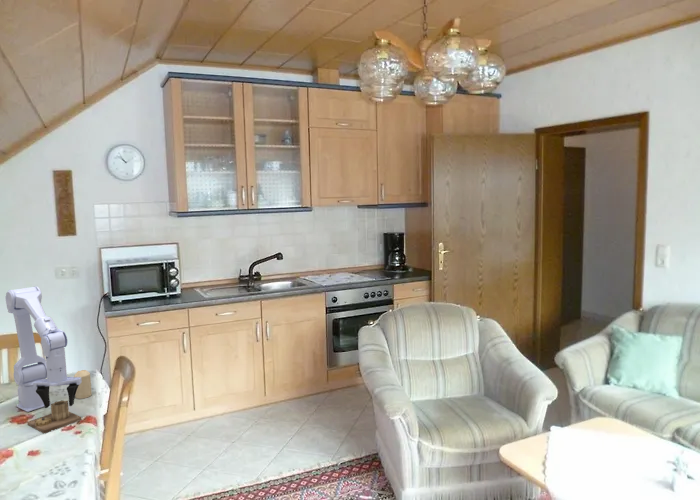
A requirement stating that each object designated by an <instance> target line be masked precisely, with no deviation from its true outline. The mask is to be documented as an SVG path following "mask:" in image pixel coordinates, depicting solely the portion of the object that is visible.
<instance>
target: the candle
mask: <svg viewBox="0 0 700 500" xmlns="http://www.w3.org/2000/svg"><path fill="white" fill-rule="evenodd" d="M73 377H81V380H82V383H81V384H80V385H79V386H78V388H77V391H76V394H75V398H76V399H78V400H79V399H80V400H82V399H86V398H89V397H91V396H92V380H91V379H92V378H91V373H90V372H89V371H88V370H86V369H82V370H77V371H76V373H75V374H74V375H73Z"/></svg>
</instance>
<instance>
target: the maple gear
mask: <svg viewBox="0 0 700 500" xmlns="http://www.w3.org/2000/svg"><path fill="white" fill-rule="evenodd" d="M69 407H70V406H69V400H64V399H63V400H59V401H55V402H53V403H51V404H50V409H51V414H52V420H57V421H58V420H62V419H65V418H67V417H69V412H70V409H69Z"/></svg>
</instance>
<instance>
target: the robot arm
mask: <svg viewBox="0 0 700 500" xmlns="http://www.w3.org/2000/svg"><path fill="white" fill-rule="evenodd" d="M42 299H43V295H42V290H41V288H40V287H39V286H38V285H35V286H32V287H31V286H30V287H23V288H17V289H8V290H7V292H6V294H5V304H6V308H7V312H8V313H10V314H12V315H13V318H14V324H15V329H16V335H17V340H18V346H19V352H20V358H19V359H18V360H17V362H16V363H15V364H14V365H13V379H14V382H15V383H16V385H18V387H17V397H18V403H17V404H16V405H15V407H16V408H19V409H21V410H22V411H24V412H26V413H29V412H31V411H35V410H38V409H41V408H44V409H48V408H49V407H51V404H52V403H51V399H50V387H55V386H56V387H57V386H67V385H68V386H67V387H66V391H67V396H68V407H72V406H73V405H74V404H75V398H76V395H75V394H76V391H77V388H78V386H79V385H80V384H81V383H82V380H81V377H74V376H68V374H67V373H68V372H67V364H66V363H67V362H66V350H65V348H66V347H67V346H68V336H67V334H66V332H65V330H62V329H61V328H58V326H57V324H56V323H55V321H54V320H53V318H52V317H51V316H47V314H46V313H45V310H44V308H43V306H42ZM31 318H32V319H33V320H34V321H35V322H34V323H33V324H34V325H32V319H31ZM33 328H34V329H35V330H36V332H37V334H38V335H39V338H40V345H41V349H42V351H43V356H44V357H43V356H40V355H38V353H37V348H36V341H35V337H34V330H33Z"/></svg>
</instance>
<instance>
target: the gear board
mask: <svg viewBox="0 0 700 500" xmlns="http://www.w3.org/2000/svg"><path fill="white" fill-rule="evenodd" d="M82 418H83V417H82V416H80V415H78V414H75V413H73V412H72V411H69V417H67V418H65V419H62V420H58V421H57V420H52V413H50V414H46V415H44V416H43V415H42V416H41V417H38V418H35V419H32V420H29V421H27V422H26V423H27V426H29V427H31V428H32V429H35V430H37V431H38V432H40V433H42V434H44V433H45V434H46V433H50V432H52V431H51V430H53V431H56V430H58V429H60V428H63V427H66V426H69V425H71V424H74V423H77V422H79V421H82ZM55 429H56V430H55ZM49 431H50V432H49Z"/></svg>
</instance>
